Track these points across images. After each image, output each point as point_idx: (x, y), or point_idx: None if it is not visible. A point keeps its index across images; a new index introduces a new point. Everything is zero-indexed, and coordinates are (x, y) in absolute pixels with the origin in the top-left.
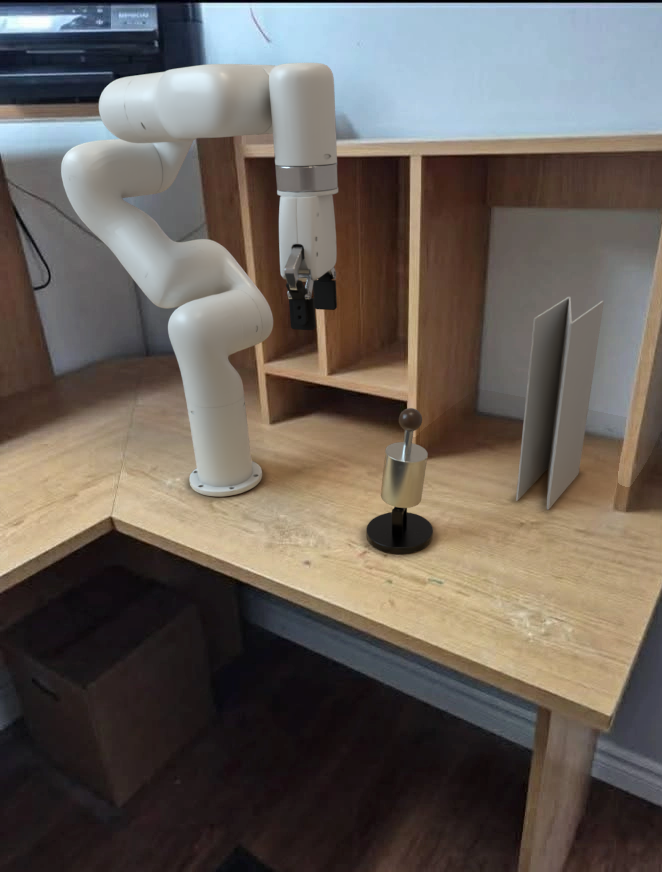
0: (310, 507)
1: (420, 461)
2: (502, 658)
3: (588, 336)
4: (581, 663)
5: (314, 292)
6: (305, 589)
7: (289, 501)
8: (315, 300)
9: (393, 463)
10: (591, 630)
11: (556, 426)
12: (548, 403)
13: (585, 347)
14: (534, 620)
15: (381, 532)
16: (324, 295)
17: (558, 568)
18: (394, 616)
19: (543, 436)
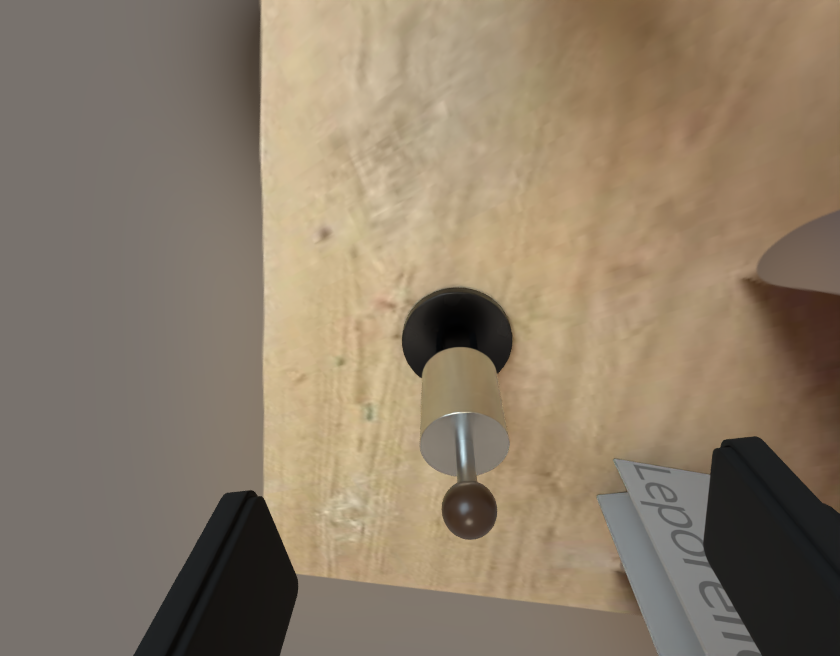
0: (492, 149)
1: (442, 472)
2: (277, 497)
3: None
4: (309, 551)
5: (794, 549)
6: (265, 263)
7: (501, 89)
8: (748, 496)
9: (421, 429)
10: (360, 554)
11: (663, 618)
12: None
13: None
14: (350, 512)
15: (436, 321)
16: (763, 593)
17: None
18: (279, 389)
19: None
